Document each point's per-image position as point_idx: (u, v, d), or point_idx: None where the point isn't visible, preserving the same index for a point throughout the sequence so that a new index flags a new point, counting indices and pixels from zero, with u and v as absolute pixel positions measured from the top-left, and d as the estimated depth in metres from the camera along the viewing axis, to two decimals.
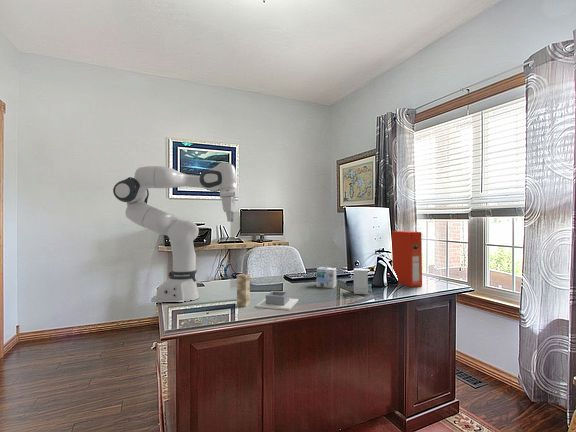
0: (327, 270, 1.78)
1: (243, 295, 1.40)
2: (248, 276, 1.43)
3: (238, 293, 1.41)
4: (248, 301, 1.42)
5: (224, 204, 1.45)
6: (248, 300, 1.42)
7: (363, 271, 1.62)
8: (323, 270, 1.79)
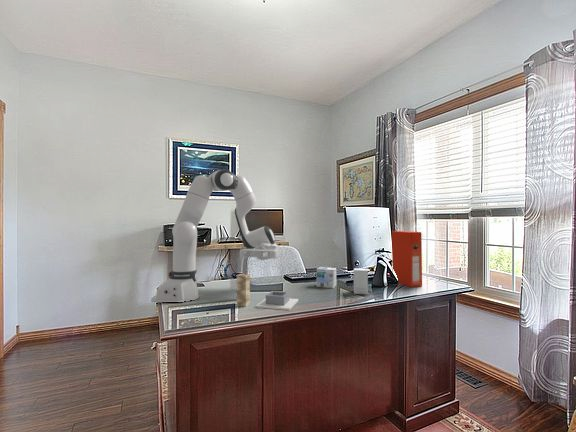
0: (327, 270, 1.78)
1: (243, 295, 1.40)
2: (248, 276, 1.43)
3: (238, 293, 1.41)
4: (248, 301, 1.42)
5: (276, 251, 1.59)
6: (248, 300, 1.42)
7: (363, 271, 1.62)
8: (323, 270, 1.79)
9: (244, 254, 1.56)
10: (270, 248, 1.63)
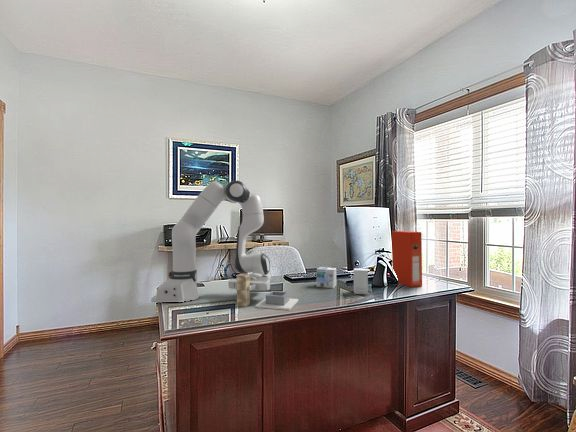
0: (327, 270, 1.78)
1: (243, 295, 1.40)
2: (248, 276, 1.43)
3: (238, 293, 1.41)
4: (248, 301, 1.42)
5: (268, 283, 1.47)
6: (248, 299, 1.42)
7: (363, 271, 1.62)
8: (323, 270, 1.79)
9: (236, 287, 1.42)
10: (261, 279, 1.50)
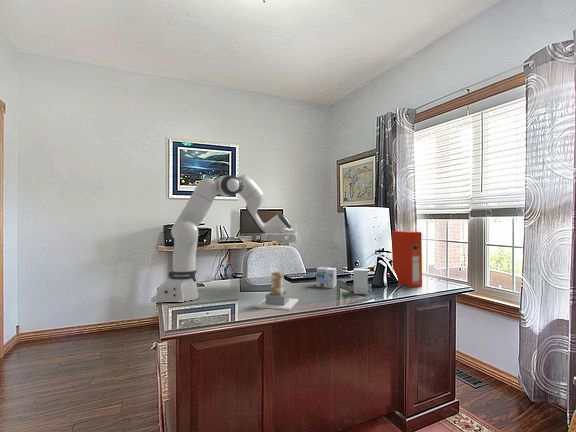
0: (327, 270, 1.78)
1: (278, 292, 1.42)
2: (282, 274, 1.44)
3: (273, 291, 1.42)
4: None
5: None
6: None
7: (363, 271, 1.62)
8: (323, 270, 1.79)
9: (266, 237, 1.63)
10: (290, 232, 1.70)
